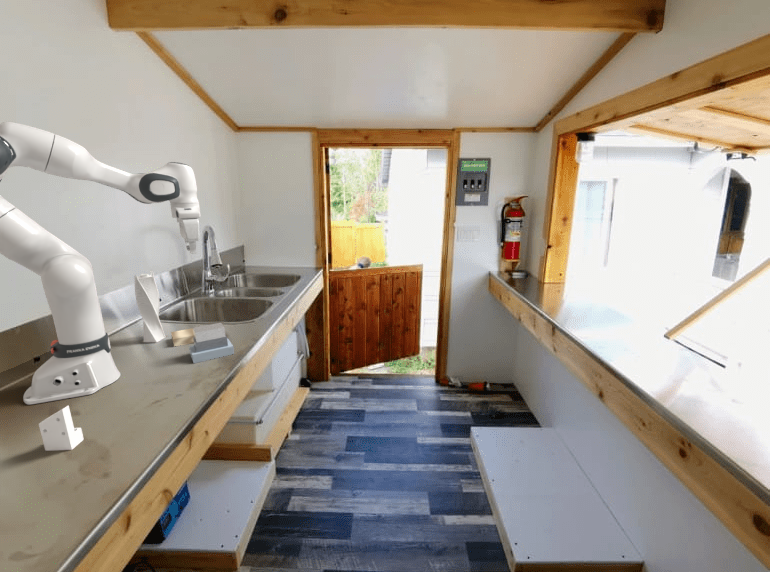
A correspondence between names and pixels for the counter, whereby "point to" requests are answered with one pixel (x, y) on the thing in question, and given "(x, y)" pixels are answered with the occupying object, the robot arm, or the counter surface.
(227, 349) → the stand
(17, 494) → the counter surface
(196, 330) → the block
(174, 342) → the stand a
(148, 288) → the skyscraper
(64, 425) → the white angled block
